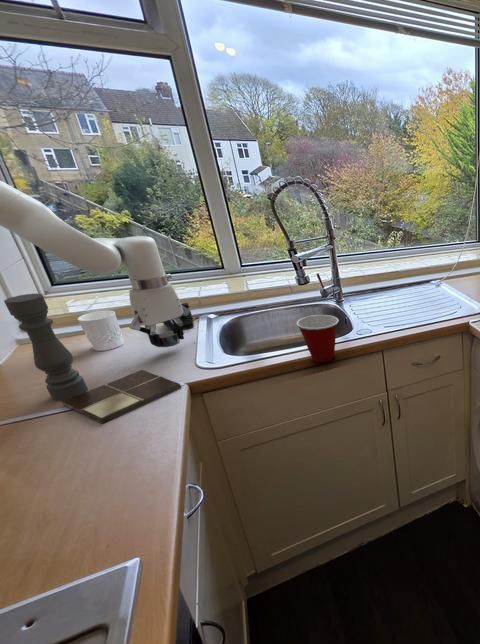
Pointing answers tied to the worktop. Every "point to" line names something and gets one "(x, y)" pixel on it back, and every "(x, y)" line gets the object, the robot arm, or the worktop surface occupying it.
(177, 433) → the worktop surface
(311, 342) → the plastic cup
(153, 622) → the worktop surface
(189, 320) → the end cap
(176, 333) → the slate stone
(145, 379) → the grid board
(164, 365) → the worktop surface
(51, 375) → the candle holder
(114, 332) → the white cup
